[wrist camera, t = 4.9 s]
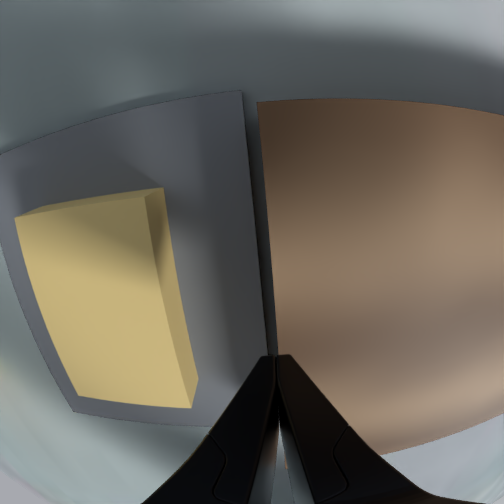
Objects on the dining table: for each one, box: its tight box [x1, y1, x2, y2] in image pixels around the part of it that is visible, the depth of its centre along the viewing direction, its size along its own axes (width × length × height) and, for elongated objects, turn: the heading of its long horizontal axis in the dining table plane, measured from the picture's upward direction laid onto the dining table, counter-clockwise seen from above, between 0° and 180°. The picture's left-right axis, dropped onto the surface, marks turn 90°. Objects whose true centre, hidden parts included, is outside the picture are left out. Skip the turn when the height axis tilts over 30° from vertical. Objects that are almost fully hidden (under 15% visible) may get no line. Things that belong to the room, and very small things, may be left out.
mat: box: [0, 90, 268, 427], centre depth 13 cm, size 16×13×1 cm
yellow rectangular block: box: [14, 187, 198, 408], centre depth 12 cm, size 9×6×2 cm, turn 4°
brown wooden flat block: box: [257, 99, 504, 469], centre depth 10 cm, size 14×20×4 cm
